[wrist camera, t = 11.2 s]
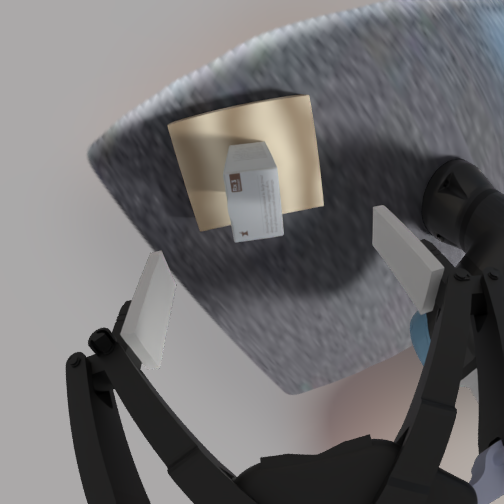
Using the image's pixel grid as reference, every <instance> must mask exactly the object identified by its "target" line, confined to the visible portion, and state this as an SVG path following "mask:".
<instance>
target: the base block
mask: <svg viewBox="0 0 504 504" xmlns="http://www.w3.org/2000/svg"><path fill="white" fill-rule="evenodd" d="M167 126H168V129H169V133H170V136H171V140H172V143H173V147H174V150H175V153H176V157H177V160H178V163H179V167H180V170H181V173H182V176H183V180H184V183H185V186H186V189H187V193H188V196H189V199H190V202H191V205H192V208H193V211H194V214H195V217H196V221H197V224H198V227H199V230H200V232H201V231H206V230H210V229H214V228H219V227H223V226H228V225H231V221H230V217H229V214H228V207H227V197H226V191H225V185H224V179H223V172H224V167H225V162H226V158H227V153H228V149H229V146H230V145H238V144H247V143H256V142H264V141H265V143H266V145H267V147H268V149H269V151H270V153H271V155H272V157H273V159H274V161H275V164H276V166H277V169H278V178H279V187H280V197H281V208H282V214H285V213H290V212H295V211H300V210H305V209H310V208H315V207H321V206H324V202H323V192H322V182H321V174H320V165H319V157H318V150H317V142H316V135H315V128H314V122H313V115H312V109H311V103H310V98H309V95H302V94H300V95H292V96H285V97H279V98H273V99H267V100H261V101H255V102H250V103H245V104H240V105H236V106H231V107H227V108H222V109H218V110H214V111H210V112H206V113H202V114H198V115H195V116H191V117H187V118H184V119H180V120H177V121H174V122H172V123H171V124H169V125H167Z"/></svg>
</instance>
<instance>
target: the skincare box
mask: <svg viewBox="0 0 504 504" xmlns="http://www.w3.org/2000/svg"><path fill="white" fill-rule="evenodd" d="M223 179H224V185H225V191H226V197H227V207H228V214H229V217H230V221H231V227H232V232H233V238H234V241H235V242H244V241H251V240H258V239H264V238H272V237H277V236H283V235H284V229H283V219H282V208H281V197H280V187H279V178H278V169H277V166H276V164H275V161H274V159H273V157H272V155H271V153H270V151H269V149H268V147H267V145H266V143H265V141H264V142H256V143H247V144H238V145H230V146H229V149H228V153H227V158H226V162H225V167H224V172H223Z"/></svg>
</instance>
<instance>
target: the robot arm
mask: <svg viewBox="0 0 504 504" xmlns="http://www.w3.org/2000/svg"><path fill="white" fill-rule="evenodd" d="M422 216H423V221H424V224H425V226H426V228H427V229H428V231H429V232H430V233H431V234H432V235H433V236H434V237H435V238H437V239H438V240H439V241H441V242H444V243H446V244H449V245H452V246H454V247H457V248H459V249H462V250H463V251H464V252H465V253H466V254H465V256H464V257H463V258H462V260H461V261H460V262H459V263H458V265H457V266H456V267H454V266H453V265H452V264H451V263H450V262H449V261H448V260H447V258H446V257H445V256H444V255H443V254H441V252H440V251H439V250H437V248H436V247H435V246H434V245H433V244H432V243H431V242H429V241H427V240H425V239H423V240H419V239H418V238H417V237H416V236H415V235H414V234H413V233H412V232H411V231H410V230H409V229H408V228H407V227H406V226H405V225H404V224H403V223H402V222H401V221H400V220H399V219H398V218H397V217H396V216H395V215H394V214H393V213H392V212H391V211H390V210H388V209H387V208H386V207H385V206H384V205H381V206H375V207H373V238H372V245H373V246H374V248H375V249H376V250H377V252H378V253H379V254H380V256H381V257H382V259H383V260H384V261H385V263H386V264H387V266H388V267H389V268H390V270H391V271H392V273H393V274H394V275H395V277H396V278H397V280H398V281H399V283H400V284H401V286H402V287H403V289H404V290H405V292H406V293H407V295H408V296H409V298H410V299H411V301H412V302H413V304H414V305H415V307H416V308H417V310H418V311H417V312H416V313H415V314H414V316H413V317H412V319H411V322H410V334H411V340H412V343H413V346H414V349H415V351H416V353H417V355H418V357H419V359H420V361H421V363H422V365H423V366H424V367H423V371H422V374H421V377H420V380H419V383H418V386H417V389H416V392H415V395H414V398H413V400H412V403H411V405H410V408H409V411H408V413H407V416H406V418H405V421H404V423H403V425H402V427H401V429H400V431H399V433H398V435H397V437H396V439H395V441H394V442H392V441H388V440H383V439H371V437H370V435H366V436H362V437H359V438H356V439H353V440H349V441H345V442H343V443H341V444H339V445H337V446H335V447H333V448H331V449H329V450H327V451H325V452H323V453H320V454H318V455H300V454H299V455H298V454H283V455H278V456H269V457H263V458H262V457H261V458H260V460H261V463H258V464H256V465H254V466H252V467H250V468H248V469H246V470H245V471H244V472H242V473H241V474H240V475H239V476H238V477H236V476H235V475H234V474H233V473H232V472H231V471H230V470H228V469H227V468H226V467H225V466H224V465H223V464H221V463H220V462H219V461H218V460H217V459H216V458H215V457H214V456H213V455H212V454H211V453H210V452H209V451H208V450H207V449H206V448H205V447H204V446H203V444H202V443H201V442H200V441H199V440H198V439H197V438H196V437H195V436H194V435H193V434H192V433H191V432H190V431H189V429H188V428H187V427H186V426H185V425H184V424H183V423H182V421H181V420H180V419H179V418H178V417H177V416H176V414H175V413H174V412H173V411H172V410H171V408H170V407H169V406H168V405H167V403H166V402H165V401H164V400H163V398H162V397H161V396H160V395H159V393H158V392H157V391H156V389H155V388H154V387H153V386H152V384H151V383H150V382H149V380H148V379H147V378H146V376H145V375H144V373H143V372H142V371H141V370H140V368H141V364H143V365H144V367H145V368H146V369H160V367H161V361H162V355H163V349H164V344H165V339H166V333H167V328H168V323H169V318H170V313H171V308H172V303H173V299H174V294H175V290H176V286H177V285H176V283H175V280H174V278H173V276H172V274H171V271H170V269H169V267H168V265H167V262H166V260H165V258H164V255H163V253H162V251H157V252H153V253H150V255H149V258H148V260H147V263H146V265H145V268H144V270H143V273H142V275H141V278H140V281H139V283H138V286H137V288H136V291H135V294H134V296H133V299H132V300H130V301H126V302H125V304H124V305H123V306H122V308H121V310H120V312H119V316H118V317H117V322H116V323H115V326H114V329H113V331H112V333H111V331H110V330H109V329H108V328H100V329H98V330H96V331H95V332H94V333H92V335H91V336H90V338H89V340H88V345H89V347H90V348H91V349H92V350H93V351H94V353H95V354H94V355H92V356H89V357H86V356H85V355H84V354H83V353H82V352H77V353H74V354H73V355H71V356H70V357H69V358H68V360H67V362H66V383H67V384H66V385H67V397H68V408H69V416H70V425H71V432H72V438H73V444H74V449H75V455H76V459H77V464H78V469H79V473H80V477H81V481H82V484H83V489H84V492H85V496H86V499H87V503H88V504H150V501H149V499H148V496H147V494H146V492H145V489H144V487H143V484H142V482H141V479H140V477H139V475H138V472H137V469H136V466H135V464H134V461H133V458H132V455H131V452H130V449H129V446H128V443H127V440H126V437H125V433H124V430H123V427H122V423H121V420H120V416H119V412H118V408H117V405H116V400H115V396H114V392H113V389H115V390H116V392H117V393H118V395H119V397H120V399H121V400H122V402H123V404H124V405H125V407H126V409H127V410H128V412H129V413H130V415H131V416H132V418H133V420H134V421H135V423H136V424H137V426H138V427H139V429H140V430H141V432H142V433H143V435H144V436H145V438H146V439H147V440H148V442H149V443H150V445H151V446H152V447H153V449H154V450H155V451H156V453H157V454H158V456H159V457H160V458H161V459H162V461H163V462H164V463H165V465H166V466H167V468H168V470H167V471H168V474H169V475H170V476H171V478H172V479H173V480H174V482H175V483H176V484H177V485H178V486H179V487H180V488H181V490H182V491H183V492H184V493H185V494H186V495H187V496H188V498H189V499H190V500H191V501H192V502H193V503H194V504H489V503H491V502H492V501H494V500H496V499H497V498H499V497H500V496H502V495H504V194H502V193H500V192H499V191H497V190H496V189H495V188H494V187H493V186H492V184H491V183H490V182H489V180H488V179H487V178H486V177H485V176H484V174H483V173H482V172H481V171H480V170H479V168H477V167H476V166H475V165H473V164H471V163H469V162H467V161H465V160H461V159H456V160H452V161H449V162H447V163H445V164H444V165H443V166H441V167H440V168H439V169H438V170H437V171H436V173H435V174H434V175H433V177H432V178H431V180H430V182H429V184H428V186H427V188H426V191H425V194H424V198H423V204H422ZM459 386H461V387H468V388H469V390H470V391H471V393H472V394H473V396H474V397H475V399H476V400H477V402H478V404H479V426H478V447H479V455H478V456H477V458H476V460H475V462H474V465H473V467H472V471H471V472H472V478H471V480H470V482H469V483H468V482H466V481H464V480H462V479H460V478H458V477H456V476H454V475H452V474H450V473H448V472H447V471H444V470H443V469H441V468H439V465H440V462H441V460H442V457H443V455H444V452H445V449H446V446H447V443H448V441H449V438H450V435H451V431H452V428H453V425H454V421H455V418H456V414H457V409H456V408H455V402H456V398H457V394H458V390H459Z"/></svg>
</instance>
